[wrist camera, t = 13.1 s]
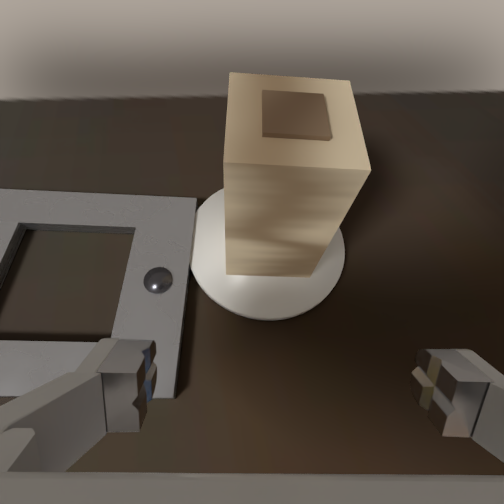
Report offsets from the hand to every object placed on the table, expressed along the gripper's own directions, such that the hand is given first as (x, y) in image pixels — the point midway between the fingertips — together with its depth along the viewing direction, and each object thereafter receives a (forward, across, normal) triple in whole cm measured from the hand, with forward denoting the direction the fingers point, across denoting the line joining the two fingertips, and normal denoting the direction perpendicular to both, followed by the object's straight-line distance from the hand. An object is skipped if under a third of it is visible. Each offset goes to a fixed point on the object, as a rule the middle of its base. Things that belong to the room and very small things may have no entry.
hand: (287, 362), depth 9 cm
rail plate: (+9, +12, +1) cm, 15 cm away
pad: (+11, 0, -1) cm, 11 cm away
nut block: (+11, 0, -1) cm, 11 cm away
